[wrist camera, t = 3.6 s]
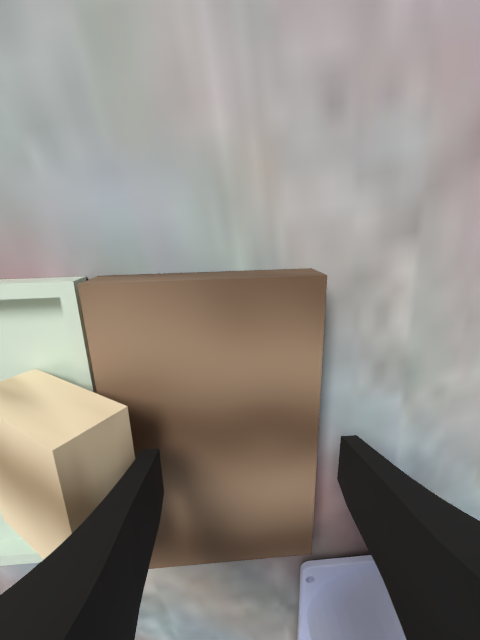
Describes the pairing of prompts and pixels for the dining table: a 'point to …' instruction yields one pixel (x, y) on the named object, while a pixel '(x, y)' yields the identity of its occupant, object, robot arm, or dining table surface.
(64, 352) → the green tray
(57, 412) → the oak tile
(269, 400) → the walnut board
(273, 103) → the dining table surface
